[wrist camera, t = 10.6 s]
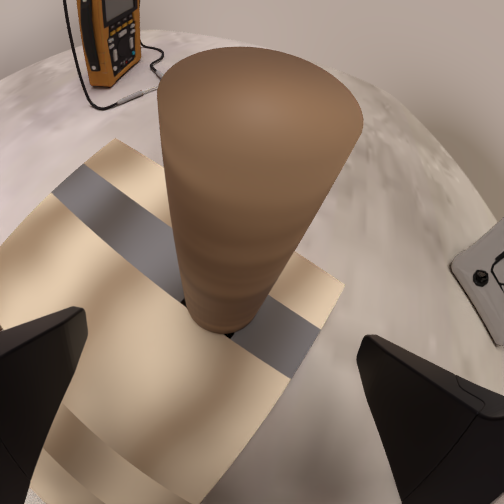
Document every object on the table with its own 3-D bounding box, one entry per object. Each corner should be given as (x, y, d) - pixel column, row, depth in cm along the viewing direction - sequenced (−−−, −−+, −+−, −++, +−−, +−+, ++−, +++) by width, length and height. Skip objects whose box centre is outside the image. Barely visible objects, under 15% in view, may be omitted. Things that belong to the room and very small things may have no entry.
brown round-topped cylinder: (263, 323, 17) (399, 134, 5) (208, 354, 16) (222, 198, 3) (230, 272, 18) (284, 41, 6) (177, 300, 17) (131, 67, 5)
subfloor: (328, 299, 18) (345, 285, 16) (143, 550, 9) (135, 568, 7) (121, 161, 21) (115, 138, 19) (-45, 352, 12) (-66, 344, 10)
